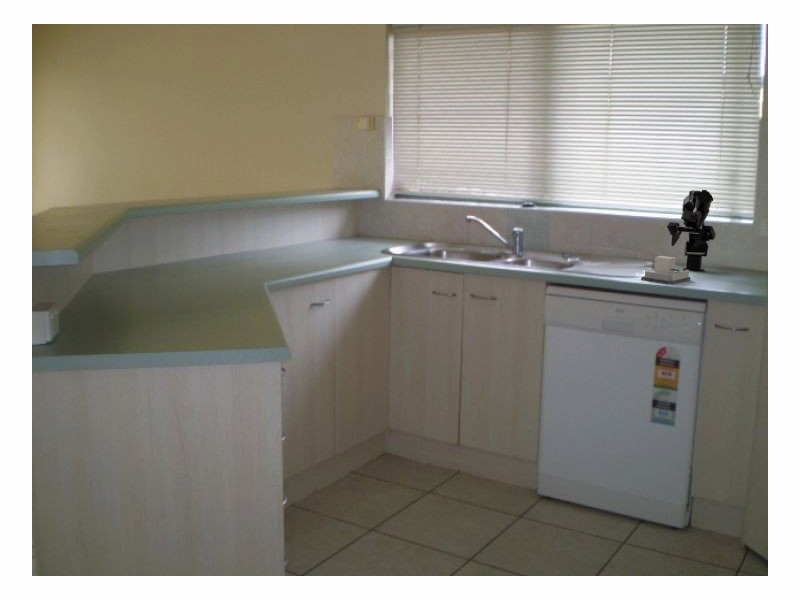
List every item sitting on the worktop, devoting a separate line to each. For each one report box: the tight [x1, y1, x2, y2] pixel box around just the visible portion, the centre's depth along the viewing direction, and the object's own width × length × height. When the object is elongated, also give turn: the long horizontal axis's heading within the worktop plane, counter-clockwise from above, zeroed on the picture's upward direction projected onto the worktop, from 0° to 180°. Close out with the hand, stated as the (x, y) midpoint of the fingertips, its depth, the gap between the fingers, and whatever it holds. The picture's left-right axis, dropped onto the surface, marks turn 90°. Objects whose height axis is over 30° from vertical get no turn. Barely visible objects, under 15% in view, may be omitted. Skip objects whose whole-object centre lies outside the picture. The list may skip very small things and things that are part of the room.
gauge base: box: [640, 269, 691, 285], centre depth 349 cm, size 14×13×4 cm
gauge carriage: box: [653, 255, 680, 274], centre depth 346 cm, size 5×9×8 cm, turn 45°
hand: (682, 246), depth 355 cm, fingers open, 9 cm apart
